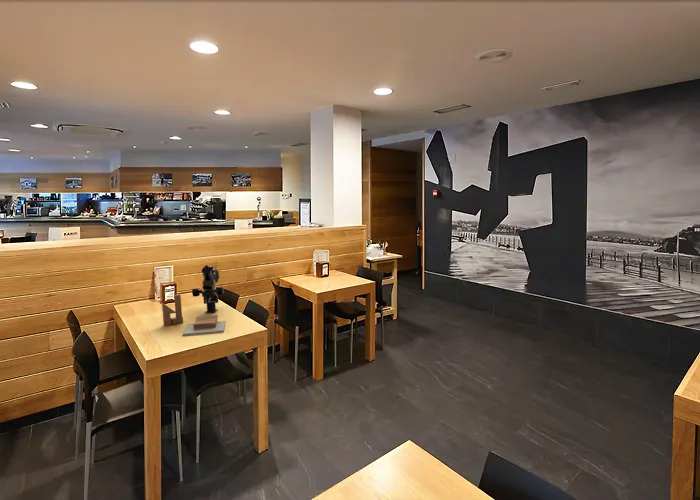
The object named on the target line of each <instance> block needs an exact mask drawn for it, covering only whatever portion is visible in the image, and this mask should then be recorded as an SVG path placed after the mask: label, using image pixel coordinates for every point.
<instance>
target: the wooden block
mask: <svg viewBox="0 0 700 500" xmlns="http://www.w3.org/2000/svg"><path fill="white" fill-rule="evenodd" d="M181 295H182V294H180V293H177V294H174V309H175V310H173V309H172V308H171V307H170V306H168V305H166V304H165V303H163V302H161V307H162V319H163V321H162V322H163V326H164V327H168V326H172V325H178V324H183V323H184V317H183V311H182V310H183V309H182V298H181V297H182V296H181ZM172 314H175V317H171V315H172Z"/></svg>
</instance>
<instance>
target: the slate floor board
mask: <svg viewBox="0 0 700 500" xmlns="http://www.w3.org/2000/svg"><path fill="white" fill-rule="evenodd" d="M226 321H227V320H217V324H216V327H214V328H203V329H194V322H193V323H187V325H186V326H185V328H184V331H183V333H182V336H184V337H185V336H196V335H209V334H219V333H224V332H225V328H226Z"/></svg>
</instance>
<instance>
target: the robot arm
mask: <svg viewBox="0 0 700 500" xmlns="http://www.w3.org/2000/svg"><path fill="white" fill-rule="evenodd" d="M201 274H202V277H203V280H202V289H200V288H199V287H198V288H197V287H195V288H192V289H191V293H192V297H194V298H195V297H200V294H201V296H202V298H203V304H204V305H205V304H206V310H205V311H204V312H205V313H206V314H207V313H208V314H210V313H211V314H212V313H213V314H215V313H216V312H217V311H218V308H217V307H216V305H217V304H218V303H219V296H222V295H224V287H223V286H216V284H217V283H218V282H219V280H220V272H219V269H217V267H216V266H214V265H206V264H205V265H204V266H203V267H202V268H201ZM215 288H216V289H215Z"/></svg>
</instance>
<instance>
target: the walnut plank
mask: <svg viewBox="0 0 700 500" xmlns="http://www.w3.org/2000/svg"><path fill="white" fill-rule="evenodd" d="M217 321H219V320H218V315H205V316H203V315H202V316H196V319H195V320H194V322H193V323H194V329H203V328H214V327H216V324H217Z"/></svg>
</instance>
